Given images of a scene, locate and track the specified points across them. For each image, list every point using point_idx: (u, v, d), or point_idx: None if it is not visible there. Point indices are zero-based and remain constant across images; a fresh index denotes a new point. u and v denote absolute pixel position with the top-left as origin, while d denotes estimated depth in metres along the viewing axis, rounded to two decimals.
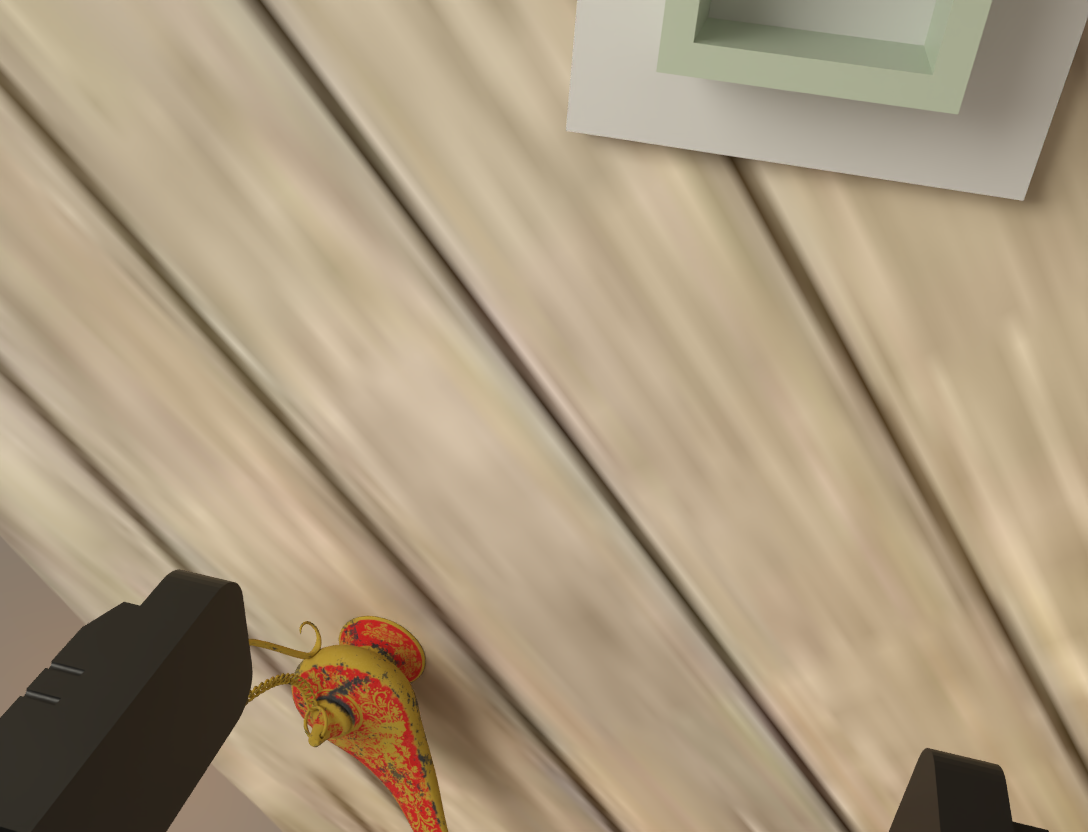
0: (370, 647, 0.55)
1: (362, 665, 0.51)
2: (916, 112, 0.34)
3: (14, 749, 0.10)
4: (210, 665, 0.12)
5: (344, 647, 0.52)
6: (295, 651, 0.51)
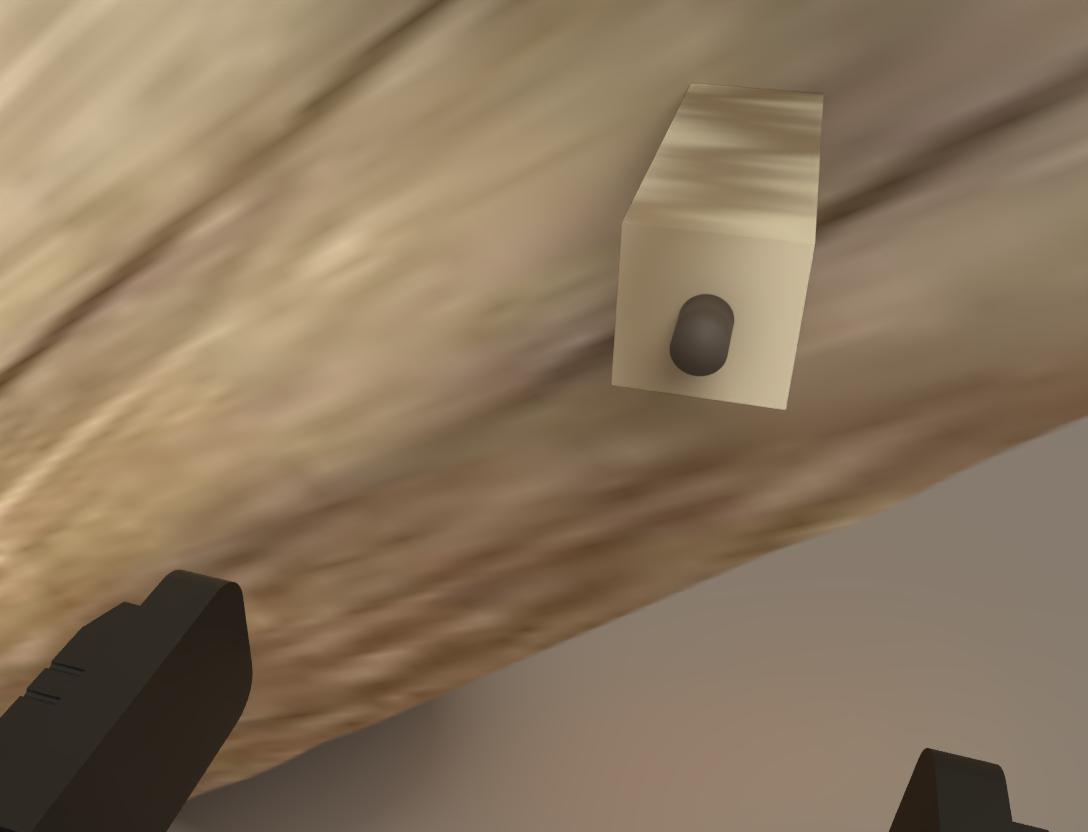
0: None
1: None
2: None
3: (14, 749, 0.10)
4: (208, 665, 0.12)
5: None
6: None
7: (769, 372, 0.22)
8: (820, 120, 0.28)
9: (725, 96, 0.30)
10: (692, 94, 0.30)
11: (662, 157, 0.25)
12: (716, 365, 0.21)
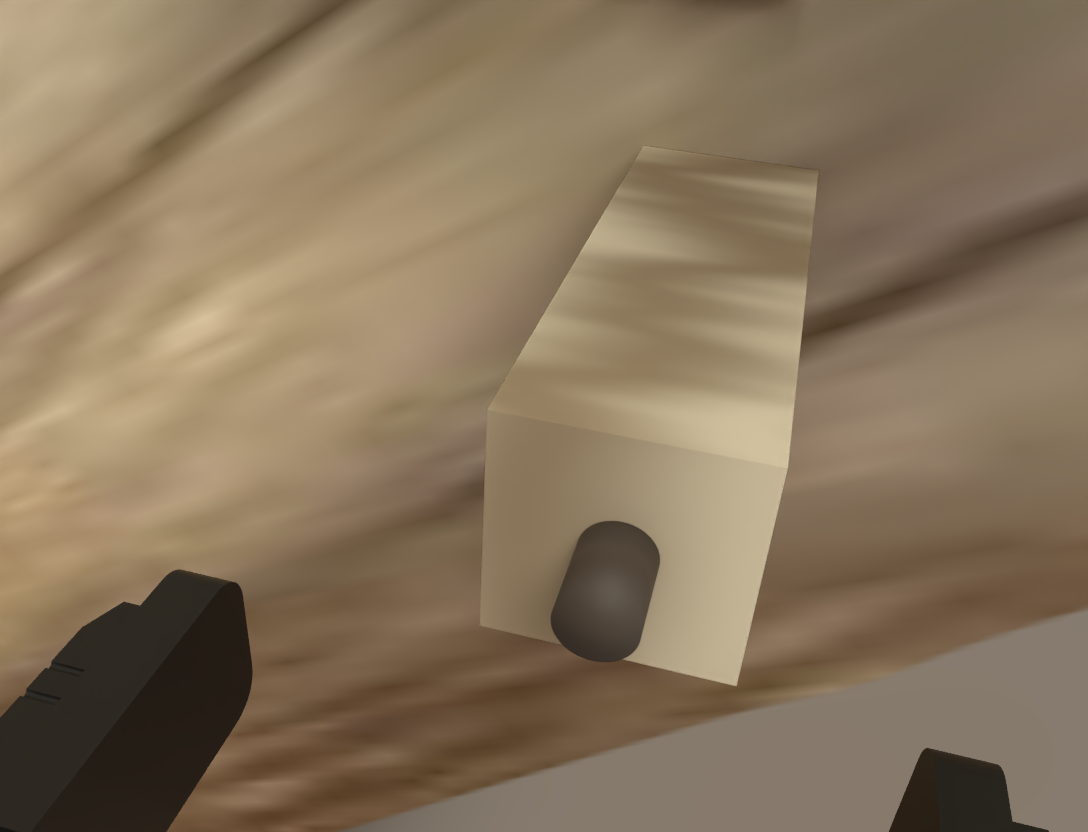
0: None
1: None
2: None
3: (14, 749, 0.10)
4: (209, 665, 0.12)
5: None
6: None
7: (712, 635, 0.15)
8: (811, 215, 0.20)
9: (685, 169, 0.22)
10: (641, 164, 0.22)
11: (578, 275, 0.17)
12: (623, 650, 0.13)
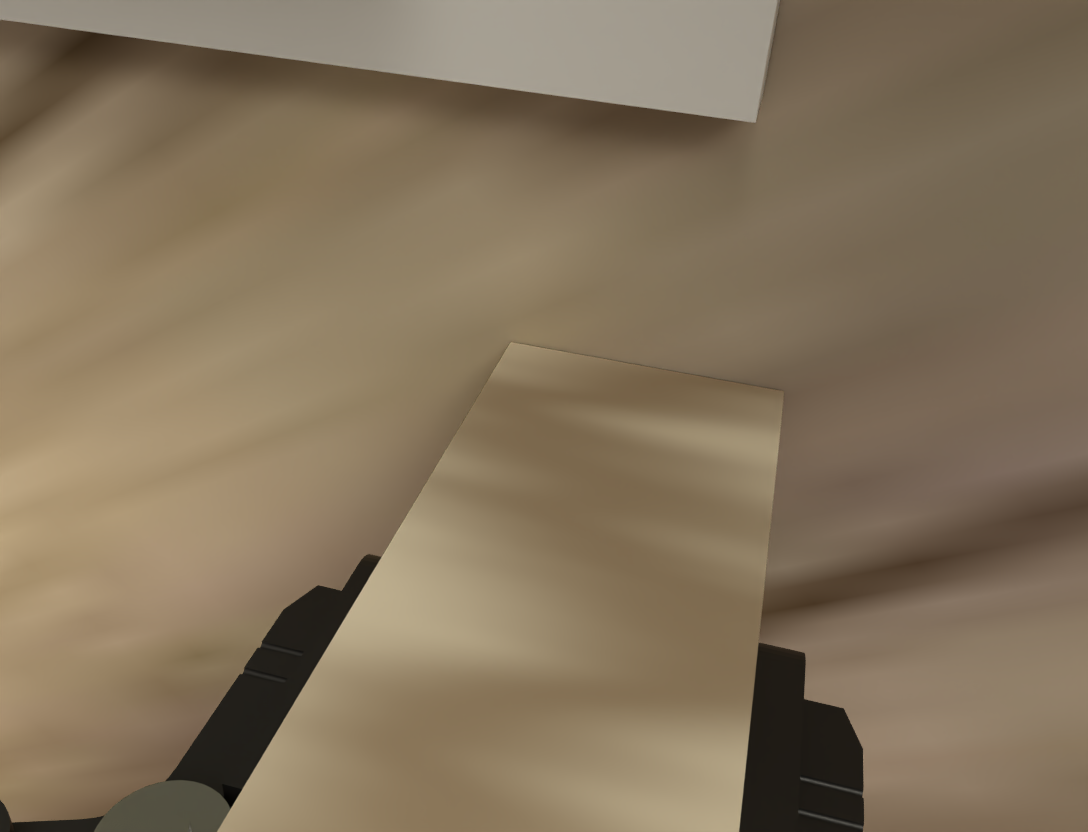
0: None
1: None
2: None
3: (245, 724, 0.10)
4: None
5: None
6: None
7: None
8: (768, 513, 0.12)
9: (568, 398, 0.14)
10: (498, 387, 0.14)
11: (297, 735, 0.09)
12: None
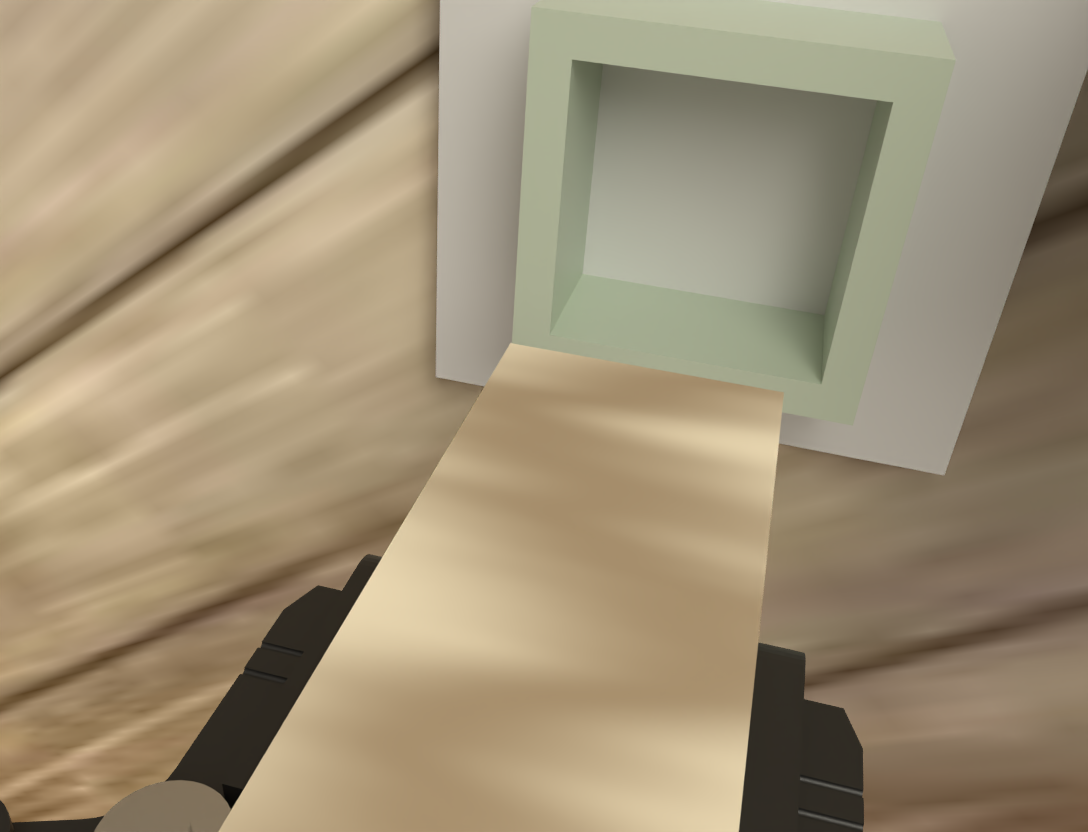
0: None
1: None
2: (512, 272, 0.30)
3: (245, 724, 0.10)
4: None
5: None
6: None
7: None
8: (767, 514, 0.12)
9: (568, 399, 0.14)
10: (498, 388, 0.14)
11: (297, 737, 0.09)
12: None
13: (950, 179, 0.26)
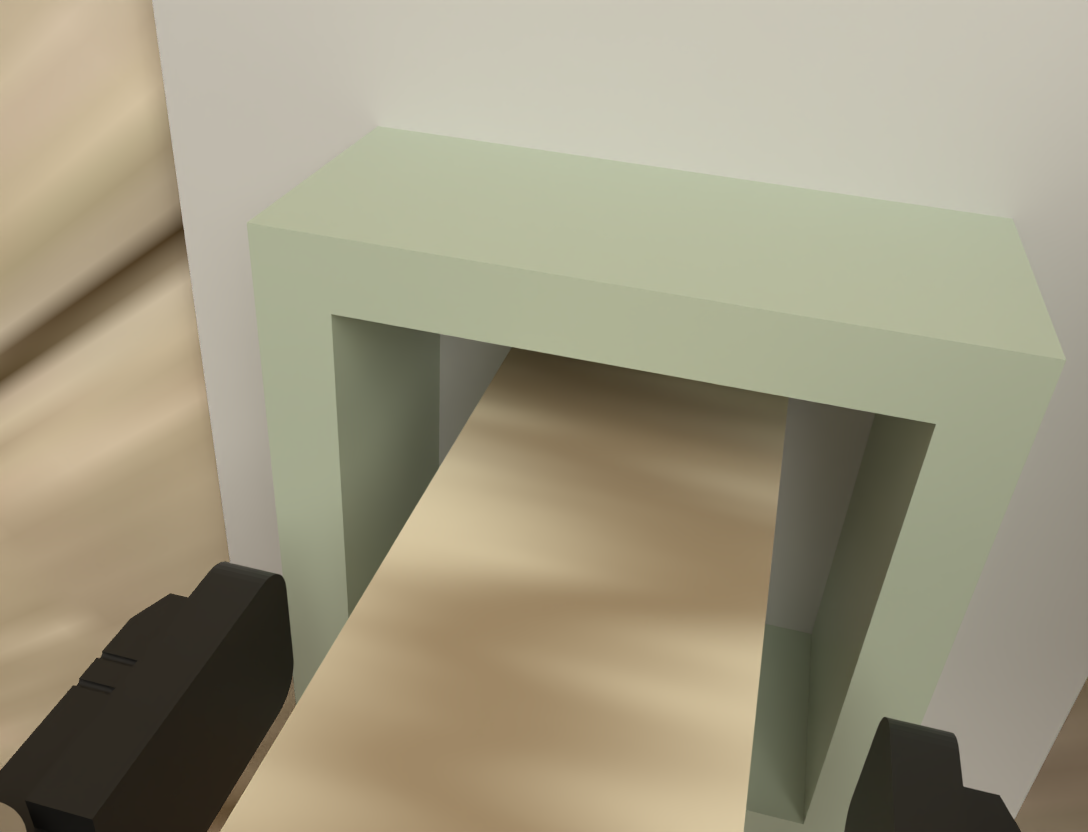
0: None
1: None
2: None
3: (70, 737, 0.10)
4: (255, 656, 0.12)
5: None
6: None
7: None
8: (779, 454, 0.13)
9: None
10: None
11: (359, 634, 0.10)
12: None
13: None
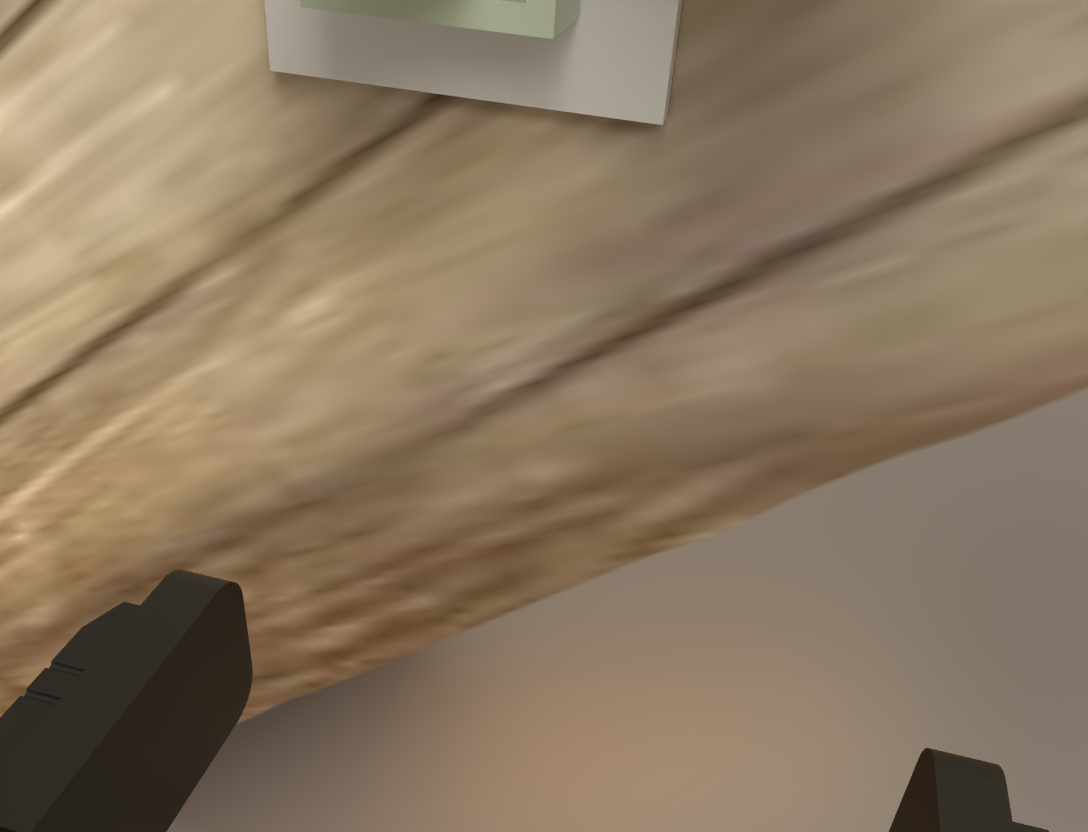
0: None
1: None
2: None
3: (14, 749, 0.10)
4: (209, 666, 0.12)
5: None
6: None
7: None
8: None
9: None
10: None
11: None
12: None
13: None
